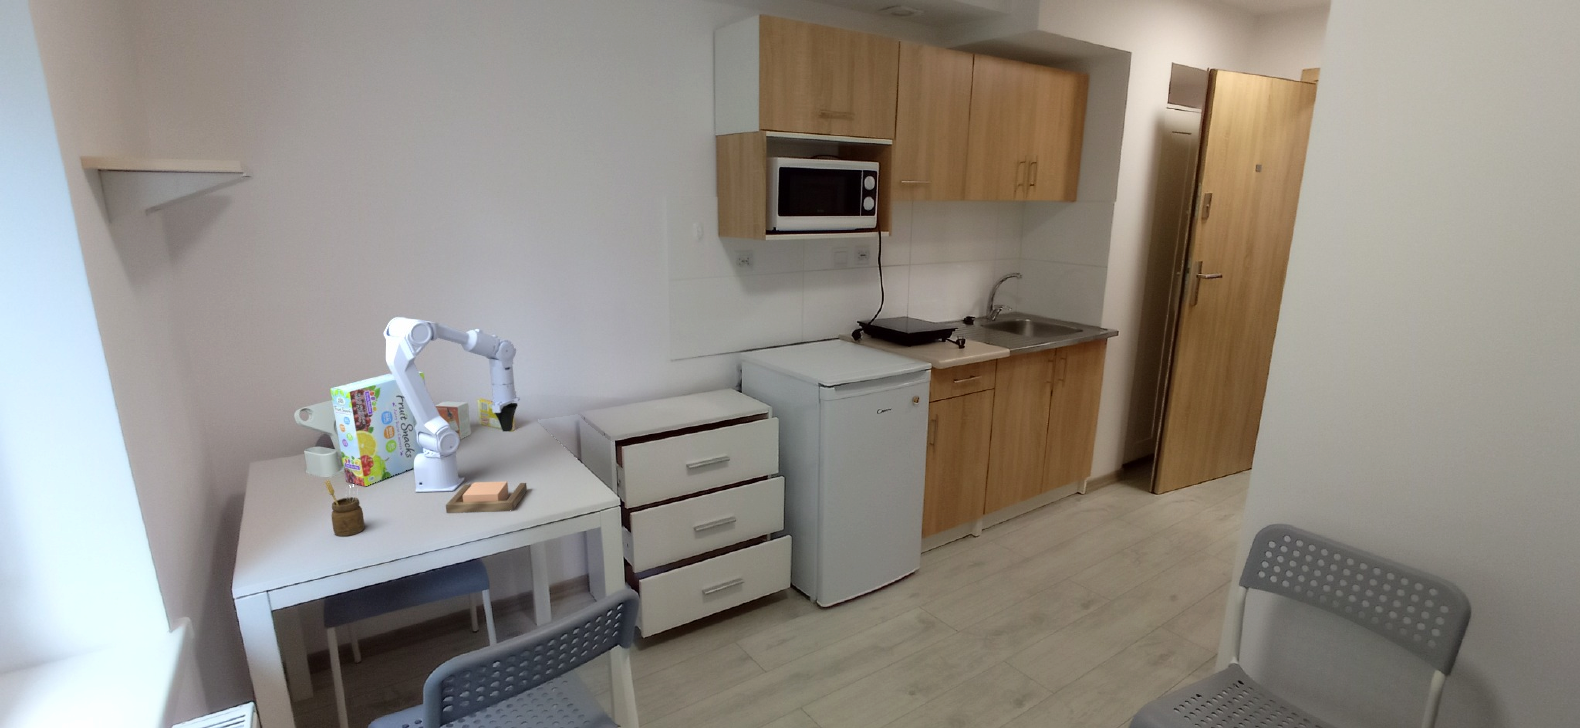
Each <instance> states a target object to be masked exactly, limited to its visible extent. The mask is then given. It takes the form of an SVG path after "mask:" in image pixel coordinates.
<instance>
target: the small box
mask: <svg viewBox="0 0 1580 728" xmlns="http://www.w3.org/2000/svg"><path fill="white" fill-rule="evenodd" d="M435 406H436V408H437V410H438V412H439V415H440V416H441V417H442V418H443V419H444V420H445V421H446V422H447V423H448V424H449V425H450V427H451V429H452V430H454V431H455V432H456V433H458V435H459V437H460V439H461V440H463V439H464V437H465V438H466V436H467V437H468V435H469V436H470V435H471V434H472V431H471V430H472V429H471V422H470V409H469V402H467V401H464V402H462V401H461V402H459V401H449V400H446V401H445V400H444V401H442V402H440V403H437V404H435ZM462 438H463V439H462Z"/></svg>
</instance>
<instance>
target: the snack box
mask: <svg viewBox="0 0 1580 728" xmlns="http://www.w3.org/2000/svg"><path fill="white" fill-rule="evenodd" d="M418 372H419V374H420V376H421V378H422V380H423V382H424V384H425V385H426V381H425V374H424V372H423V371H418ZM329 390H330V395H331V400H332V402H333V408H334V414H335V420H336V425H337V431H338V437H339V443H340V449H341V455H342V461H343V466H344V473H343V474H344V477H345V482H346V483H348V482H349V483H350V484H353V483H355V485H357V484H358V485H359V486H361V485H362V487H365V486H367V487H369V486H371V485H373V484H372V483H374V484H376V483H378V482H377V481H379V480H381V481H384V480H386V479H388V478H387V477H389V478H391V476H392V477H394V476H396V475H395V474H397V475H399V474H401V473H405V472H407V471H409V470H411V469H414V460H415V457H416V456H417V454H420V453H424V452H423V448H422V447H420V446H419V444H418V443H417V433H416V430H415V428H414V427H415V426H416V424H417V421H416V419H415V418H414V416H413V414H412V412H411V410H410V408H409V406H408V404H407V402H406V400H405V398H404V396H403V394H402V392H401V390H400V388H399V386H398V384H397V382H396V380H395V378H394V376H393V374H392V373H391V372H390V373H387V374H383V375H379V376H375V377H369V378H367V379H363V380H362V379H361V380H358V381H356V382H355V381H354V382H351V383H347V384H343V385H340V386H339V385H338V386H335V387H331V388H330V389H329ZM406 470H407V471H406ZM398 473H399V474H398ZM393 475H394V476H393ZM385 478H386V479H385ZM383 479H384V480H383ZM375 482H376V483H375ZM379 482H380V481H379ZM370 484H371V485H370ZM368 485H369V486H368Z"/></svg>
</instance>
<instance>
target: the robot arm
mask: <svg viewBox="0 0 1580 728" xmlns="http://www.w3.org/2000/svg"><path fill="white" fill-rule="evenodd" d="M483 331H484V330H482V329H479V328H475V329H470V330H467V331H466V332H464V331H461V330H459V329H456V328H454V327H451V326H448V325H445V324H442V323H440V322H435V321H430V320H429V321H428V320H423V319H415V318H414V319H413V318H407V317H405V316H396V317H394V318H392V319H391V320H390V321H389V322H388V323H387V326H386V328H385V329H384V331H383V337H384V338H385V340H386V341H385V344H386V346H385V361H386V365H387V367H388V368H389V371H390V373H392V374H393V376H394V378H395V380H396V382H397V384H398V386H399V388H400V390H401V392H402V394H403V396H404V398H405V400H406V402H407V404H408V406H409V408H410V410H411V412H412V414H413V416H414V418H415V419H416V421H417V424H416V426H415V427H414V428H415V430H416V433H417V443H418V444H419V446H420V447H422V448H423V452H424V453H420V454H417V456H416V457H415V460H414V468H413V471H414V472H413V473H414V481H415V490H414V491H415V493H427V492H429V493H430V492H435V493H436V492H454V491H455V490H456V489H457V488H458V487H459V486H460V485H461V484H462V483H463V482H464V481H465V477H459V472H458V464H457V463H458V461H457V450H458V449H459V447H460V445H461V444H460V442H461V440H460V437H459V435H458V433H456V432H455V431H454V430H452V429H451V427H450V425H449V424H448V423H447V422H446V421H445V420H444V419H443V418H442V417H441V416H440V415H439V412H438V410H437V408H436V406H435V405H436V404H435V403H434V401H433V398H432V396H431V393H430V392H429V390H428V388H427V386H426V383H425V384H424V382H423V380H422V378H421V376H420V374H419V372H420V371H419V370H418V367H417V366H416V364H415V360H416V358H417V356H418V355H419V354H420V353H421V352H422V351H423V349H425V347H427V345H428V344H429V343H430V342H432V341H436V340H438V339H440V340H443V341H444V340H445V341H448V342H451V343H455V344H456V343H457V344H460V345H461V347H462V349H463V351H465V352H468V353H472V354H475V355H479V356H482V357H485V358H486V359H488V361H489V373H490V382H491V393H492V399H491V401H492V402H493V405H492V412H493V413H495V415H496V416H497V418H498V420H499V422H500V425H501V428H502V429H501V430H502V432H510V431H511V430H512V426H513V418H514V419H515V413H516V410H517V408H518V403H517V402H519V401H520V400H521V397H520V396H517V391H516V389H515V380H514V379H515V378H514V369H513V368H514V367H513V364H514V358H515V356H516V353H517V349H516V348H515V346H514V344H513V343H512V342H511V341H510V340H508V339H503V338H498V337H499V336H498V335H495V334H492V335H490V334H487V333H484V332H483ZM511 432H512V431H511Z"/></svg>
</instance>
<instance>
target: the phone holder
mask: <svg viewBox="0 0 1580 728" xmlns="http://www.w3.org/2000/svg"><path fill="white" fill-rule="evenodd" d="M301 412H305V413H307V414H308V418H307V420H303V419H302V418H301V416H300V413H301ZM293 416H294V420H295V422H296V424H297V425H298V426H300V427H302V428H306V429H308V430H311V431H315V432H319V433H322V434H324V435H325V434H326V435H328V436H329V437H330V440H331V441H332V444H333V447H334V448H330V447H329V448H328V447H324V446H313V447H312V446H311V447H309V448H306V449H305V450H304V451H303V453H304V459H305V467H306V469H305V474H306V473H308V475H310V474H312V475H311V476H315V475H316V476H315V477H321V478H324V477H330V478H333V477H332V476H334V477H336V476H335V475H336V474H338V473H342V474H344V473H343V472H344V466H343V461H342V455H341V449H340V443H339V437H338V431H337V425H336V420H335V414H334V408H333V402H332V399H331V400H327V401H323V402H319V403H315V404H311V405H307V406H304V407H303V406H302V407H301V408H299V409H297V410H296V411H295V412H294V414H293Z"/></svg>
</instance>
